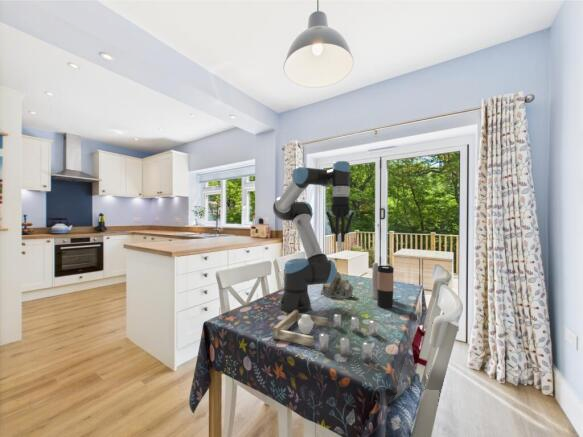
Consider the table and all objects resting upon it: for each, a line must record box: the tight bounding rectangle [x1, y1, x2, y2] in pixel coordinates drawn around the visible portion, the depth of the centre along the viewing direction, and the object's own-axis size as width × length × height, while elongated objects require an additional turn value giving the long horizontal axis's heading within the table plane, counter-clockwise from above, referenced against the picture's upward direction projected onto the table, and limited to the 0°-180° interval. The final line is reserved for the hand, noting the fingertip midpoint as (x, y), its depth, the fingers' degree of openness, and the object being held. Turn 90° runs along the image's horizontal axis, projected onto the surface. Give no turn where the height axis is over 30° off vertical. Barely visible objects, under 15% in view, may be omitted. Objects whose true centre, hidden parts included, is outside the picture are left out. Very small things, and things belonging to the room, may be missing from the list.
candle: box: [371, 262, 379, 300], centre depth 142 cm, size 7×14×20 cm, turn 89°
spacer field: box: [318, 313, 378, 363], centre depth 91 cm, size 17×22×5 cm
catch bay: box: [273, 310, 329, 348], centre depth 99 cm, size 15×20×4 cm
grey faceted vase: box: [297, 313, 315, 335], centre depth 98 cm, size 6×6×7 cm
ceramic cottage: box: [320, 268, 354, 299], centre depth 146 cm, size 16×16×15 cm
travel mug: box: [376, 264, 395, 310], centre depth 129 cm, size 8×8×20 cm
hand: (339, 249), depth 114 cm, fingers closed
